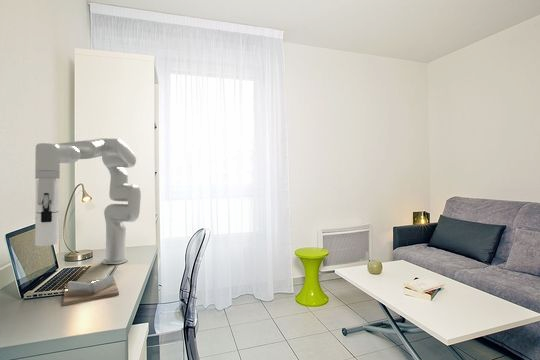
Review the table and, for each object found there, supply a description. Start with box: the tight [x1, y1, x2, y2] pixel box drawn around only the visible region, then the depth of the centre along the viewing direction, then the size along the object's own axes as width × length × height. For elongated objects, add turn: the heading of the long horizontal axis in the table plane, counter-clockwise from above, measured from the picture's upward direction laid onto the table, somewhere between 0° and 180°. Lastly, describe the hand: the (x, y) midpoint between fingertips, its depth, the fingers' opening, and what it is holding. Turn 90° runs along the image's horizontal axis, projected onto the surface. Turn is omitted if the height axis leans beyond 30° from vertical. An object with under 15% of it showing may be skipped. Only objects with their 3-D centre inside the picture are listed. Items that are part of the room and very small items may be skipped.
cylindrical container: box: [34, 179, 60, 247], centre depth 113 cm, size 7×7×25 cm
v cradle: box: [63, 274, 120, 306], centre depth 118 cm, size 20×18×5 cm
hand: (47, 220), depth 113 cm, fingers closed on cylindrical container, 7 cm apart
